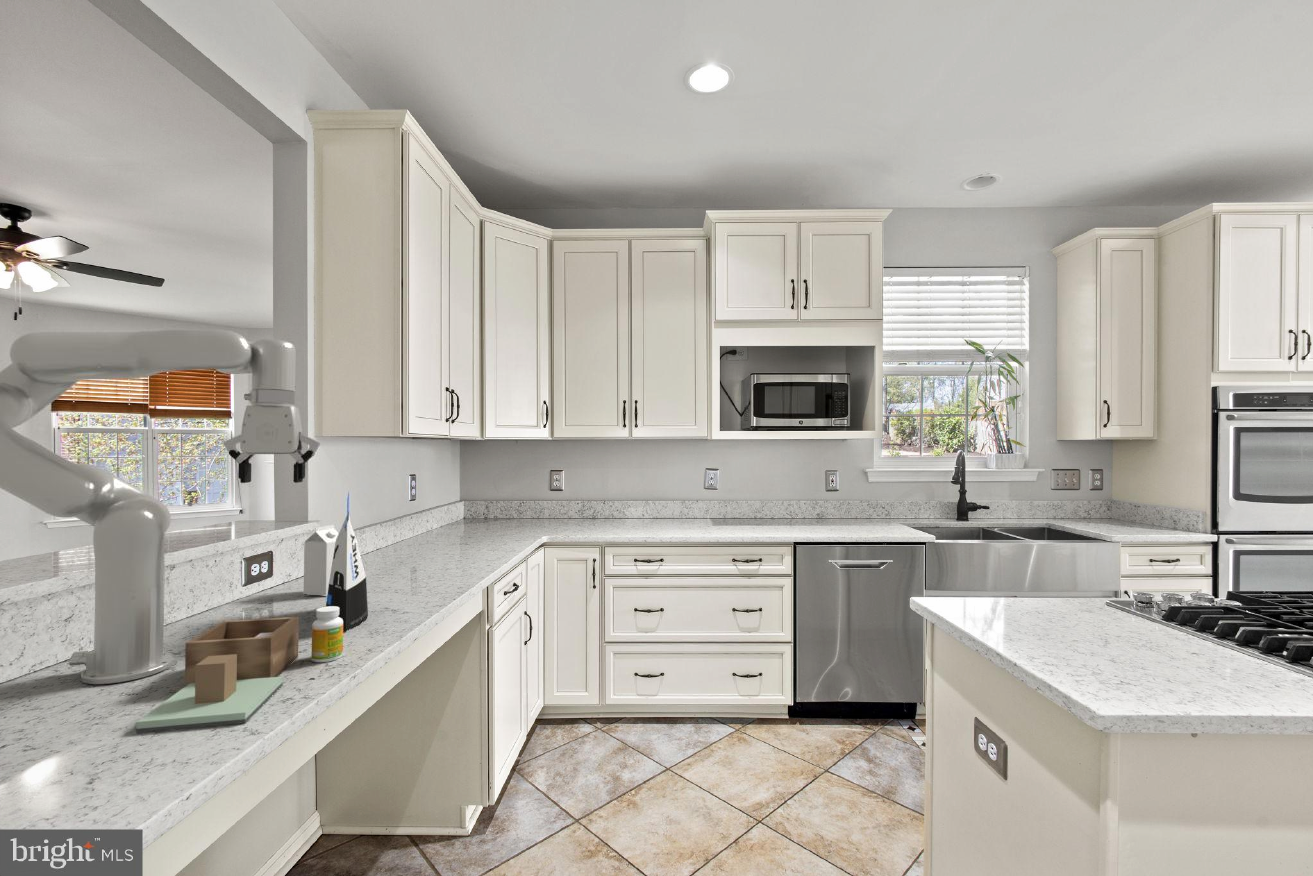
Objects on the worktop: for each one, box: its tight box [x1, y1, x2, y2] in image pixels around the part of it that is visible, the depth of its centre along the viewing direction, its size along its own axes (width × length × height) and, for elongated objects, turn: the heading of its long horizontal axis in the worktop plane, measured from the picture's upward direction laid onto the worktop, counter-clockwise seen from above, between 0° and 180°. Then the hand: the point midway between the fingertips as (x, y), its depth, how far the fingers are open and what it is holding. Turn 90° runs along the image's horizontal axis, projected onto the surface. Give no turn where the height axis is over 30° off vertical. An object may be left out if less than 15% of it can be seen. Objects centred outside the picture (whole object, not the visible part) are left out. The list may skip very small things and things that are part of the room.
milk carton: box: [303, 524, 339, 596], centre depth 164 cm, size 7×7×19 cm
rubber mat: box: [135, 682, 284, 734], centre depth 93 cm, size 14×14×1 cm
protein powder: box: [325, 491, 369, 633], centre depth 141 cm, size 10×24×30 cm, turn 27°
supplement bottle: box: [310, 606, 344, 663], centre depth 114 cm, size 5×5×10 cm
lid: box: [135, 654, 284, 730], centre depth 93 cm, size 14×14×7 cm
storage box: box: [184, 616, 300, 687], centre depth 107 cm, size 13×13×8 cm
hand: (272, 482), depth 120 cm, fingers open, 9 cm apart
